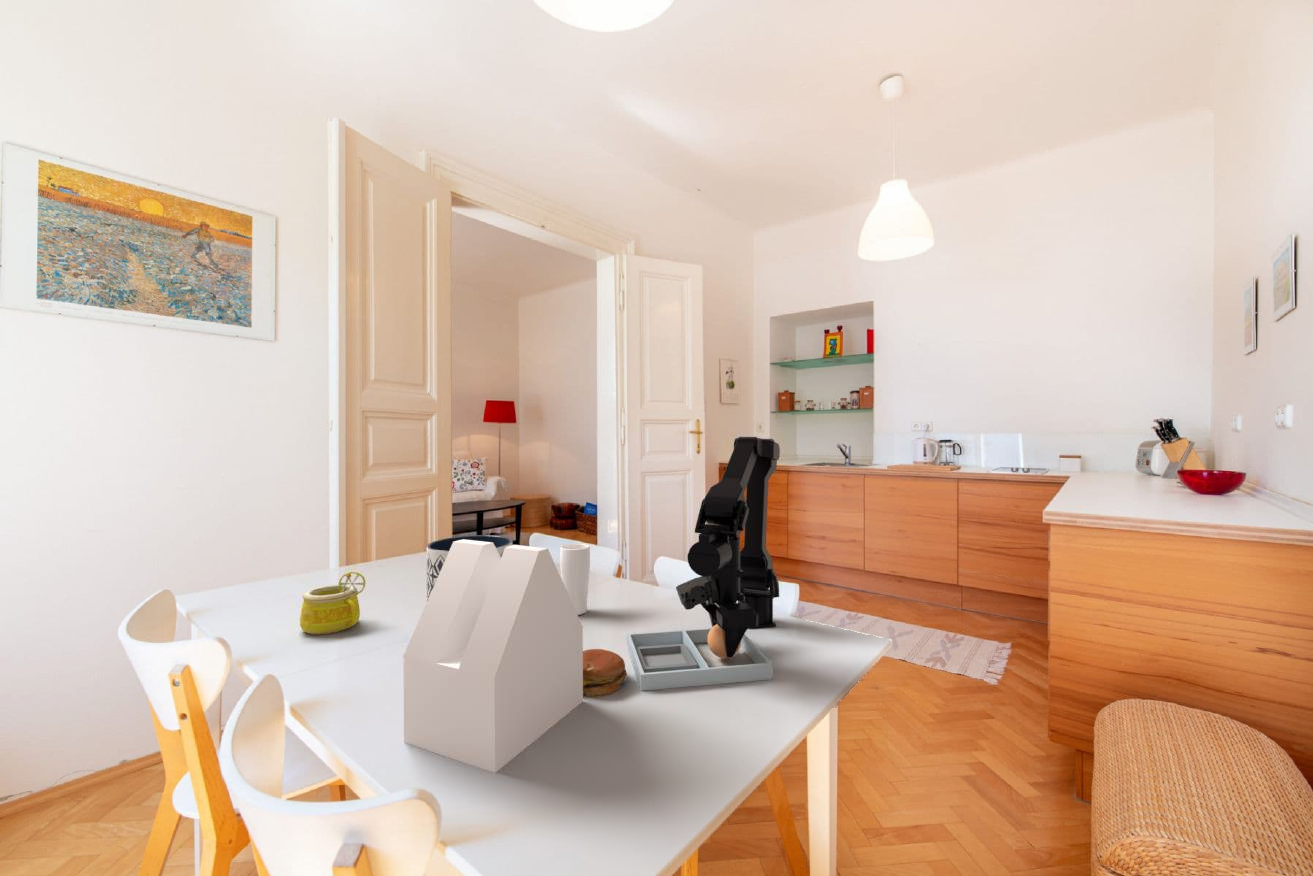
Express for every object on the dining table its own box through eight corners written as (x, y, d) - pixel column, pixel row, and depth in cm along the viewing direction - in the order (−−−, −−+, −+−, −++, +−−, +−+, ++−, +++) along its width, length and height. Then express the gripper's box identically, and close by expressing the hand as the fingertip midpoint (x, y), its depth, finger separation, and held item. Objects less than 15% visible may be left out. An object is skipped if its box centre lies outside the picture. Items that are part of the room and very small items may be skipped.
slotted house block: (494, 773, 65) (494, 565, 65) (403, 743, 71) (403, 553, 71) (582, 702, 82) (582, 537, 82) (503, 682, 89) (502, 530, 89)
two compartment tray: (737, 638, 107) (737, 626, 107) (772, 679, 90) (772, 664, 90) (626, 646, 103) (626, 633, 103) (640, 690, 86) (640, 674, 86)
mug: (286, 633, 111) (286, 575, 111) (336, 616, 121) (335, 563, 121) (330, 642, 106) (330, 581, 106) (378, 624, 116) (378, 568, 116)
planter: (529, 611, 124) (529, 540, 124) (463, 637, 109) (463, 555, 109) (477, 599, 134) (476, 532, 134) (409, 620, 118) (408, 545, 118)
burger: (621, 668, 94) (621, 642, 94) (629, 694, 85) (629, 664, 85) (563, 674, 92) (563, 647, 92) (565, 701, 83) (565, 670, 83)
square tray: (684, 651, 101) (684, 643, 101) (697, 673, 92) (697, 665, 92) (633, 655, 99) (633, 647, 99) (641, 678, 90) (641, 669, 90)
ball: (734, 649, 101) (734, 617, 101) (745, 662, 95) (745, 628, 95) (703, 651, 100) (703, 619, 100) (712, 665, 94) (712, 630, 94)
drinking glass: (593, 608, 126) (592, 543, 126) (586, 617, 120) (586, 550, 120) (564, 607, 127) (564, 543, 127) (556, 617, 120) (556, 549, 120)
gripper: (669, 553, 105) (669, 634, 105) (693, 579, 87) (693, 676, 87) (724, 551, 107) (724, 630, 107) (759, 575, 89) (759, 671, 89)
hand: (724, 650), depth 97 cm, fingers closed on ball, 6 cm apart
